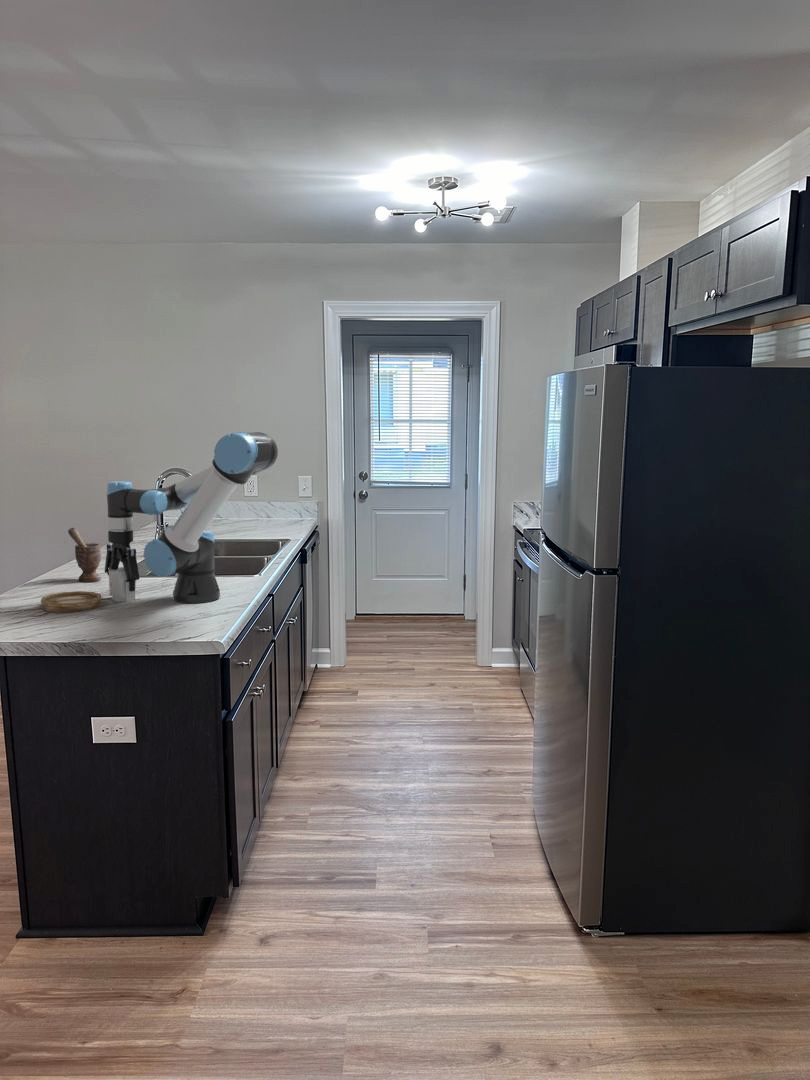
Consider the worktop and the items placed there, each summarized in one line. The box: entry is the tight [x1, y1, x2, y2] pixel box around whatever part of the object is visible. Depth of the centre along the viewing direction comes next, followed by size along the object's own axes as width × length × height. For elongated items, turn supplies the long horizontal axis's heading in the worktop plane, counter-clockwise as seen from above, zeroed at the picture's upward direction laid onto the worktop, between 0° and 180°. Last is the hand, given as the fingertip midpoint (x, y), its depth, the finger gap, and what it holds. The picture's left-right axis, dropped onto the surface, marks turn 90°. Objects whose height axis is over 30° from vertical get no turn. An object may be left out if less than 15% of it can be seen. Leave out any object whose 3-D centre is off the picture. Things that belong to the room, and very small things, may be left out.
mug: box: [108, 566, 137, 603], centre depth 246 cm, size 11×8×10 cm
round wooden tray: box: [40, 590, 102, 614], centre depth 238 cm, size 17×17×3 cm
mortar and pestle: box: [67, 527, 102, 583], centre depth 272 cm, size 12×9×20 cm
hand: (122, 597), depth 247 cm, fingers closed on mug, 10 cm apart
